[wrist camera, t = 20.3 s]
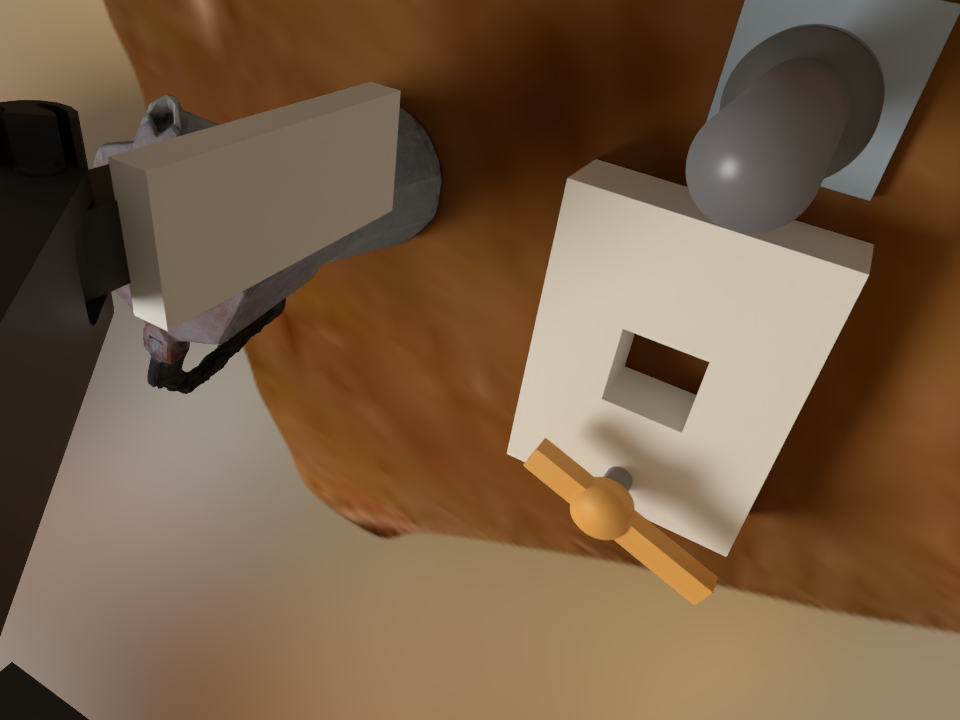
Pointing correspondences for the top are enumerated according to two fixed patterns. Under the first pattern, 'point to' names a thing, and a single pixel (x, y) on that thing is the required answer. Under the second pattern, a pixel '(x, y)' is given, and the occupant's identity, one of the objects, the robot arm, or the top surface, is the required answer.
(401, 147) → the moka pot
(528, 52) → the top surface
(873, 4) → the pad
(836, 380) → the top surface
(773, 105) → the plug
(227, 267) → the robot arm
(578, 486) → the orange bar with knob
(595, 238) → the socket board
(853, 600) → the top surface
